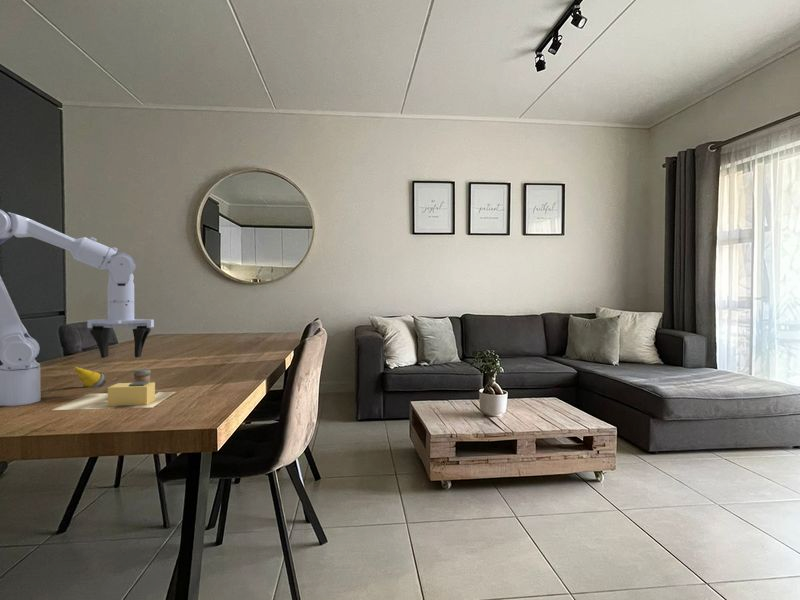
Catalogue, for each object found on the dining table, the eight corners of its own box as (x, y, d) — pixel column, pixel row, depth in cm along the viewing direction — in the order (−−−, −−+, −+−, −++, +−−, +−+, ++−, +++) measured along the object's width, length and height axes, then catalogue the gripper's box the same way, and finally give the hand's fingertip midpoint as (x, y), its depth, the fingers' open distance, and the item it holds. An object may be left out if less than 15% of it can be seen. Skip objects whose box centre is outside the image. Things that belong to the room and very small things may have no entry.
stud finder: (107, 405, 105) (107, 385, 105) (117, 400, 110) (117, 381, 110) (146, 404, 106) (146, 384, 106) (155, 399, 111) (154, 380, 111)
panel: (51, 415, 101) (51, 410, 101) (88, 398, 117) (88, 393, 117) (152, 412, 104) (152, 407, 104) (175, 396, 120) (175, 391, 120)
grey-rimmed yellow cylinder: (110, 391, 127) (81, 370, 121) (91, 400, 128) (62, 378, 121) (113, 376, 131) (86, 355, 125) (96, 384, 132) (67, 363, 125)
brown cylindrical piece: (130, 397, 114) (130, 371, 114) (139, 393, 117) (138, 369, 117) (145, 397, 114) (145, 371, 114) (153, 393, 117) (153, 369, 117)
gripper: (80, 302, 114) (81, 359, 114) (146, 302, 116) (146, 358, 116) (95, 301, 120) (95, 355, 121) (156, 301, 123) (157, 354, 123)
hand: (121, 357), depth 119 cm, fingers open, 7 cm apart
